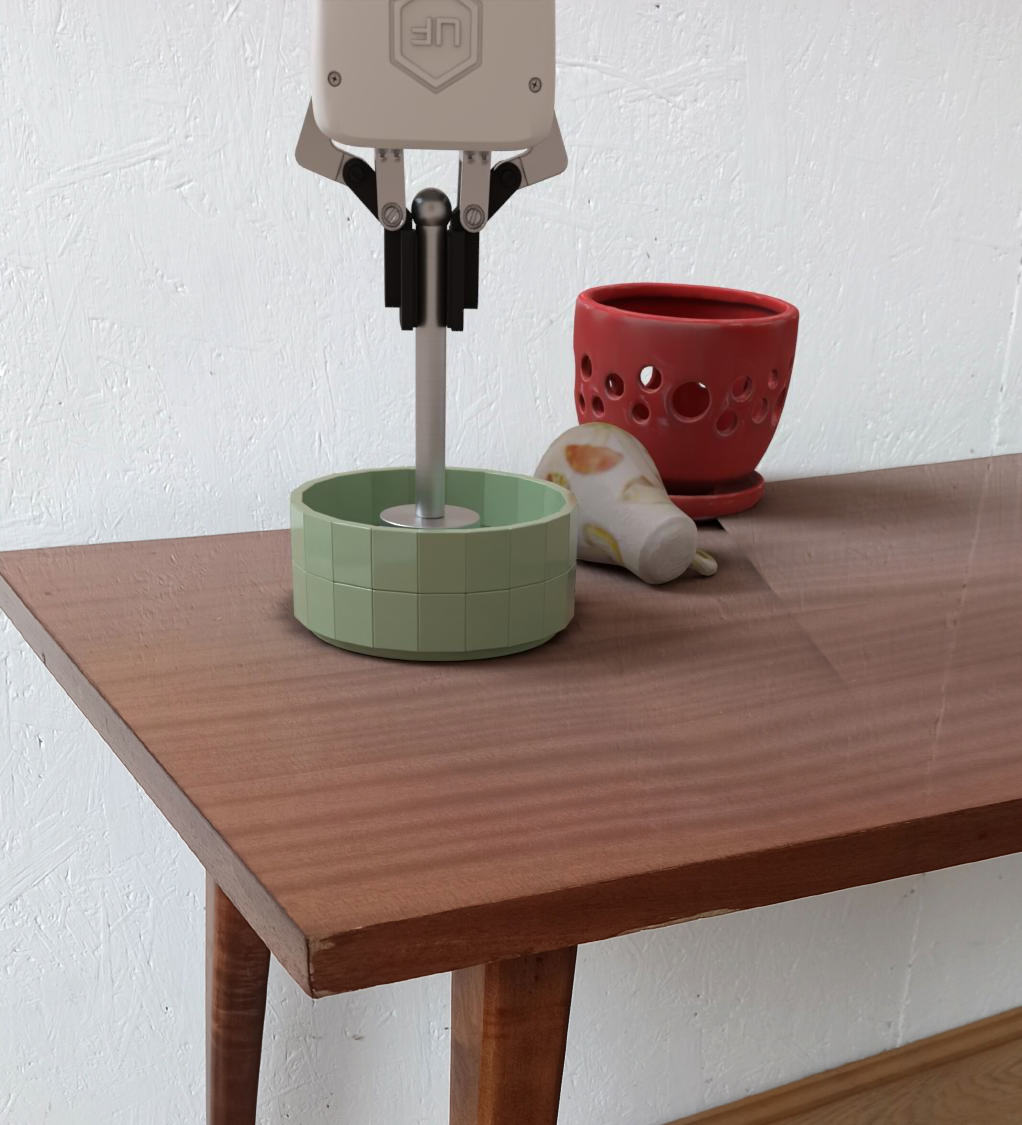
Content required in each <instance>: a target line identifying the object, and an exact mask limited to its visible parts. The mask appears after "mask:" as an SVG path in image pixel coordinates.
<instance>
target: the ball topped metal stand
mask: <svg viewBox="0 0 1022 1125" xmlns="http://www.w3.org/2000/svg"><path fill="white" fill-rule="evenodd" d="M410 205H411V206H410V212H411V214H412V222H413V223H414V224H415V230H416V232H417V235H418V327H417V328H415V331H414V332H415V336H414V337H415V340H414V341H415V343H414V344H415V348H414V349H415V353H414V355H415V358H414V359H415V360H414V361H415V363H414V364H415V365H414V366H415V373H414V374H415V379H414V380H415V386H414V387H415V396H414V397H415V398H414V399H415V401H414V402H415V406H414V407H415V412H414V414H415V416H414V417H415V418H414V419H415V420H414V421H415V424H414V425H415V429H414V430H415V432H414V433H415V436H414V438H415V441H414V442H415V448H414V449H415V451H414V452H415V453H414V454H415V461H414V462H415V464H414V466H415V504H409V505H401V506H396V507H392V508H389V509H386V510H384V511H382V512H381V514H380V526H383V527H395V528H408V529H475V528H480V516H479V514H478V513H476V512H475V511H472V510H470V509H467V508H463V507H458V506H452V505H445V466H446V433H447V432H446V429H447V428H446V425H447V424H446V423H447V422H446V421H447V420H446V417H447V415H446V414H447V412H446V411H447V326H446V271H447V229H448V226H449V225H450V219H451V215H452V211H453V206H452V202H451V200H450V199H449V196H448V194H447V193H445V191H443V190H441V189H440V188H437V187H430V186H429V187H425V188H423V189H420V191H418V192H417V193H416V194H415V196H414V197H413V199H412V202H411V204H410Z"/></svg>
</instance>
